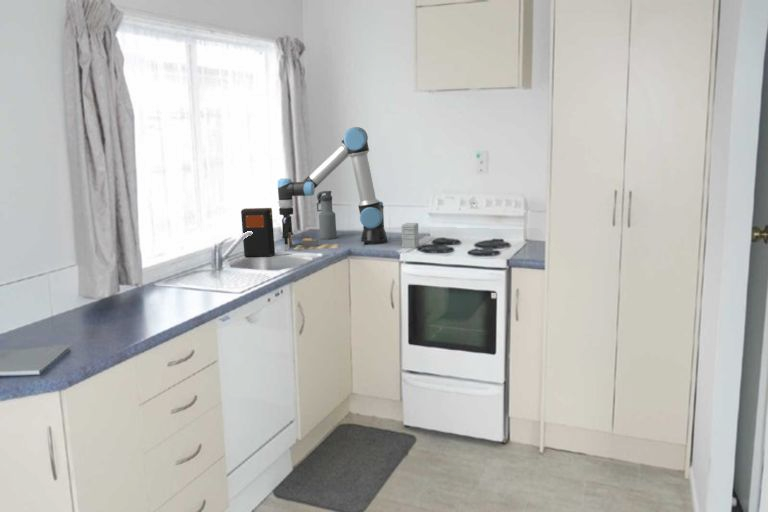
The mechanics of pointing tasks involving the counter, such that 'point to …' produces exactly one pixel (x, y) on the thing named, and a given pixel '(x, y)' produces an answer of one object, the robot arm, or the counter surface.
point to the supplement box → (410, 235)
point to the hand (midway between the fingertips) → (288, 248)
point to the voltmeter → (258, 232)
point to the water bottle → (326, 216)
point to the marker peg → (290, 239)
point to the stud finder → (309, 242)
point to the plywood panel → (318, 246)
